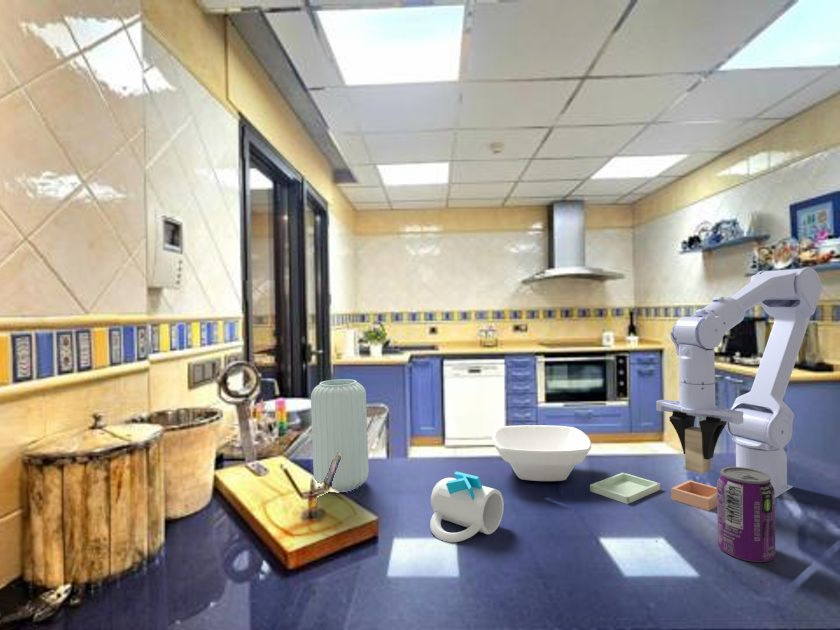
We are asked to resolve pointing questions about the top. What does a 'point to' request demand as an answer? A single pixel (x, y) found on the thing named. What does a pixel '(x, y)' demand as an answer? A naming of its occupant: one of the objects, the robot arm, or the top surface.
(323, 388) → the vase
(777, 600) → the top surface
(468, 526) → the mug
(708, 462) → the beech pin
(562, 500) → the top surface
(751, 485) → the beverage can
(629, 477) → the tray
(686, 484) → the orange open box
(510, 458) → the bowl
